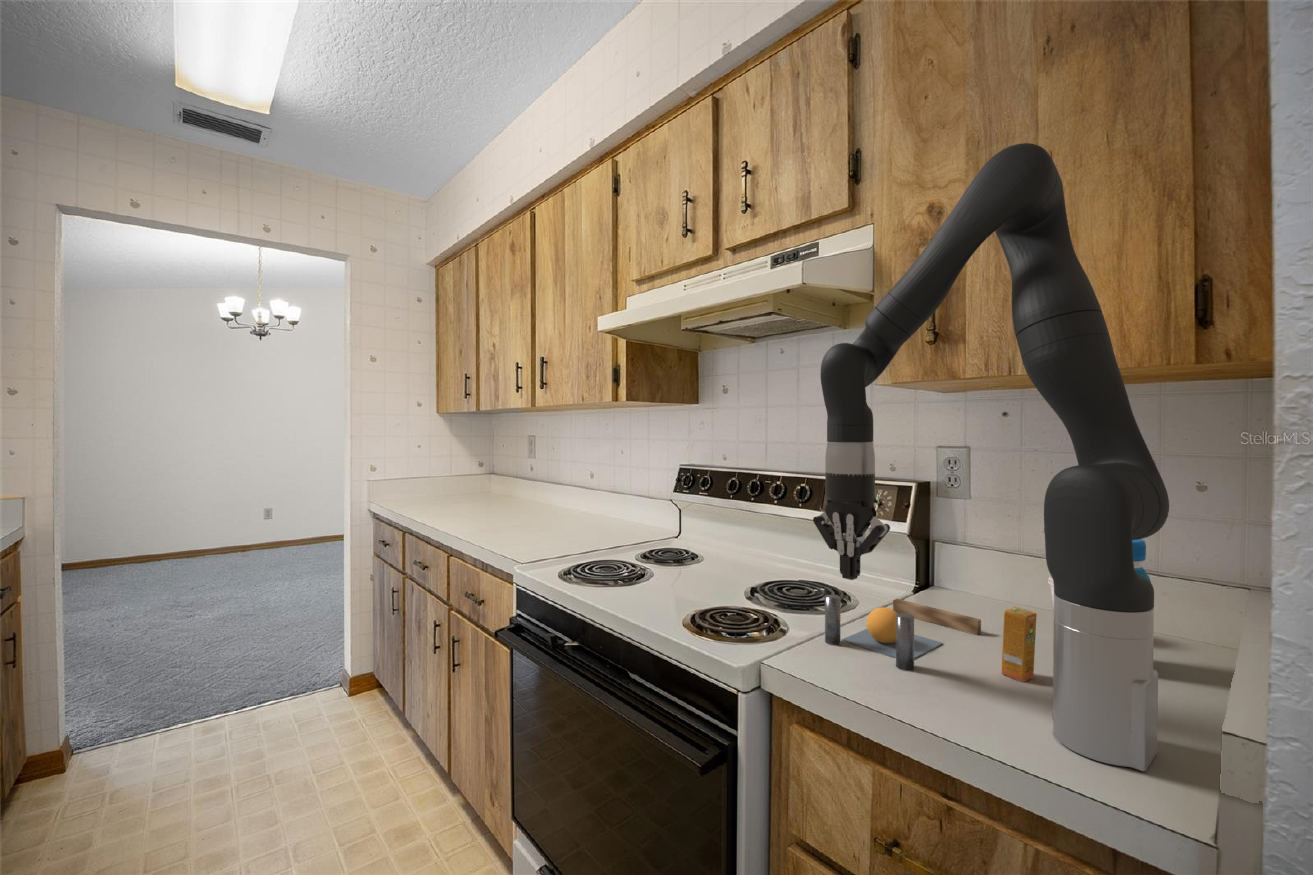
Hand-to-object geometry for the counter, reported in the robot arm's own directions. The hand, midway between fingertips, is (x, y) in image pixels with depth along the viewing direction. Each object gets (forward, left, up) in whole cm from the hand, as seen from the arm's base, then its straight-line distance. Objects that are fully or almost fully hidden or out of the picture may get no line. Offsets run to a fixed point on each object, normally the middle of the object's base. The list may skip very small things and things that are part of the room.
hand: (849, 578), depth 90 cm
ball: (+1, -12, -10) cm, 16 cm away
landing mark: (0, -13, -14) cm, 19 cm away
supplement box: (-19, -15, -14) cm, 28 cm away
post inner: (-6, -5, -14) cm, 16 cm away
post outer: (+7, -5, -14) cm, 16 cm away
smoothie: (-18, -42, -14) cm, 48 cm away
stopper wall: (0, -29, -14) cm, 32 cm away
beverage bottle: (-27, -32, -14) cm, 44 cm away
